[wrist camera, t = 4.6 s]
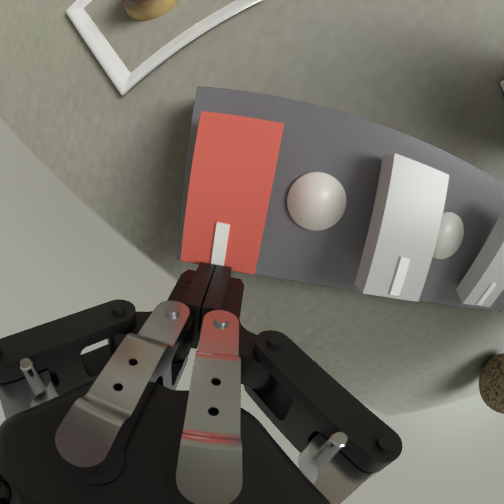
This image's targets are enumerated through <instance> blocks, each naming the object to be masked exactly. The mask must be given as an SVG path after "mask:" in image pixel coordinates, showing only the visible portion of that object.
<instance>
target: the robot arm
mask: <svg viewBox="0 0 504 504" xmlns="http://www.w3.org/2000/svg"><path fill="white" fill-rule="evenodd" d="M231 269H232V267H227V266H222V265H217V266H216V264H210V263H205V262H200V264H199V267H198V269H197V271H194V270H187V271H185V272H184V273H182V274H181V276H180V278H179V280H178V281H177V283H176V286H175V287H174V289H173V291H172V293H171V295H170V296H169V299H168V300H167V301H165V302H162V303H160V304H159V305H157V306H156V308H155V309H154V311H152V312H136V310H135V306H134V305H133V304H132V303H130V302H129V301H126V300H113V301H110V302H107V303H104V304H101V305H98V306H95V307H92V308H89V309H86V310H84V311H80V312H78V313H75V314H72V315H69V316H66V317H63V318H60V319H57V320H54V321H51V322H48V323H45V324H42V325H40V326H36V327H33V328H31V329H28V330H25V331H22V332H19V333H16V334H13V335H10V336H7V337H4V338H1V339H0V400H1V404H2V407H3V411H4V414H5V417H6V420H5V421H4V422H3V423H2V424H1V426H0V504H340V503H341V502H343V501H344V500H345V499H346V498H347V497H348V496H349V495H350V494H352V493H353V492H354V491H355V490H356V489H357V488H358V487H359V486H360V485H361V484H362V483H363V482H365V481H366V480H368V479H369V478H371V477H372V476H374V475H375V474H376V473H378V472H379V471H380V470H382V469H383V468H385V467H386V466H387V465H389V464H390V463H391V462H392V461H394V460H395V459H396V458H398V456H399V455H400V453H401V451H402V441H401V439H400V437H399V435H398V434H397V433H396V432H395V431H394V430H392V429H391V428H390V427H389V426H388V425H386V424H385V423H384V422H383V421H382V420H380V419H379V418H378V417H377V416H376V415H375V414H373V413H372V412H371V411H370V410H369V409H368V408H366V407H365V406H364V405H363V404H362V403H361V402H359V401H358V400H357V399H356V398H355V397H354V396H353V395H351V394H350V393H349V392H348V391H347V390H346V389H345V388H343V387H342V386H341V385H340V384H339V383H338V382H337V381H336V380H334V379H333V378H332V377H331V376H330V375H329V374H328V373H327V372H326V371H324V370H323V369H322V368H321V367H320V366H319V365H318V364H317V363H316V362H314V361H313V360H312V359H311V358H310V357H309V356H308V355H307V354H306V353H305V352H304V351H302V350H301V349H300V348H299V347H298V346H297V345H296V344H295V343H294V342H293V341H292V340H291V339H290V338H288V337H287V336H286V335H285V334H283V333H281V332H278V331H272V330H268V331H263V332H261V333H259V334H258V335H256V334H253V333H251V332H249V331H247V330H246V329H245V328H244V327H243V326H242V325H241V323H240V320H239V317H240V310H241V303H242V296H243V289H244V285H243V283H242V281H241V279H237V278H232V277H230V276H231ZM105 339H108V345H105V346H103V347H100V348H98V349H95V350H93V351H90V352H88V353H85V354H82V355H80V353H81V351H82V350H83V349H84V348H85V347H87V346H90V345H92V344H95V343H97V342H100V341H102V340H105ZM198 343H199V346H198ZM197 347H198V351H196V356H195V361H194V367H193V373H192V378H191V384H190V390H189V391H178V390H177V391H176V387H177V384H178V382H179V380H180V378H181V375H182V373H183V370H184V368H185V366H186V363H187V360H188V355H189V352H190V349H191V348H195V349H197ZM241 384H243V385H244V388H245V391H246V392H247V393H248V395H249V396H250V397H251V398H252V399H253V401H254V402H255V403H256V404H257V405H258V407H259V408H260V409H261V410H262V411H263V412H264V413H265V415H266V416H267V417H268V418H269V419H270V420H271V421H272V423H273V424H274V425H275V426H276V427H277V428H278V429H279V430H280V432H281V433H282V434H283V435H284V436H285V437H286V438H287V439H288V440H289V441H290V442H291V443H292V445H293V446H294V447H295V448H296V449H297V450H298V451H299V452H300V453H301V454H300V455H299V459H298V464H299V467H300V469H301V471H302V472H303V473H304V474H303V473H302V472H301V471H300V469H299V468H298V467H297V466H296V465H295V464H294V463H293V461H291V459H290V458H289V457H288V456H287V455H286V454H285V452H284V451H283V450H282V449H281V447H280V446H279V445H278V444H277V443H276V442H275V440H274V439H273V438H272V437H271V435H270V434H269V433H268V432H267V430H266V429H265V428H264V427H263V425H262V424H261V423H260V422H259V421H258V420H257V419H256V418H255V417H254V416H252V415H251V414H250V413H249V412H247V411H246V410H244V409H242V408H241V407H240V406H241V404H240V402H241V401H240V400H241V399H240V398H241V393H240V392H241V389H240V388H241Z"/></svg>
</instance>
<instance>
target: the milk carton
mask: <svg viewBox="0 0 504 504" xmlns="http://www.w3.org/2000/svg"><path fill="white" fill-rule="evenodd" d="M500 85H501V87H502V90H503V92H504V80H503V81H501V82H500Z"/></svg>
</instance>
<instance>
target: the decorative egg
mask: <svg viewBox="0 0 504 504" xmlns="http://www.w3.org/2000/svg"><path fill="white" fill-rule="evenodd" d="M479 390H480V394H481V397H482V399H483V400H484V402H485V403H486V404H487V406H489V407H490V408H491V409H493V410H494V411H496V412H499V413H503V414H504V354H498V355H495V356H493V357H492V358H490V359H489V360H488V361H487V362H486V364H485V365H484V367H483V369H482V371H481V374H480V378H479Z"/></svg>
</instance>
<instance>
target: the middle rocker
mask: <svg viewBox="0 0 504 504" xmlns="http://www.w3.org/2000/svg"><path fill="white" fill-rule="evenodd" d="M448 181H449V175H448V174H446V173H444V172H441V171H439V170H437V169H434V168H432V167H430V166H427V165H425V164H422V163H420V162H417V161H415V160H412V159H410V158H407V157H404V156H402V155H399V154H396V153H392V154H387V155H383V159H382V165H381V171H380V177H379V182H378V188H377V193H376V198H375V203H374V208H373V212H372V217H371V221H370V226H369V230H368V234H367V238H366V243H365V246H364V250H363V254H362V258H361V262H360V266H359V269H358V273H357V276H356V280H355V283H354V284H355V285H356V286H357V288H358V289H359V290H360V291H361V292H362V293H363V294H369V295H376V296H382V297H389V298H395V299H402V300H409V301H416V302H418V301H419V298H420V295H421V293H422V290H423V287H424V283H425V280H426V277H427V274H428V271H429V267H430V264H431V260H432V257H433V253H434V249H435V246H436V242H437V238H438V233H439V229H440V225H441V220H442V215H443V210H444V205H445V200H446V194H447V188H448Z"/></svg>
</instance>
